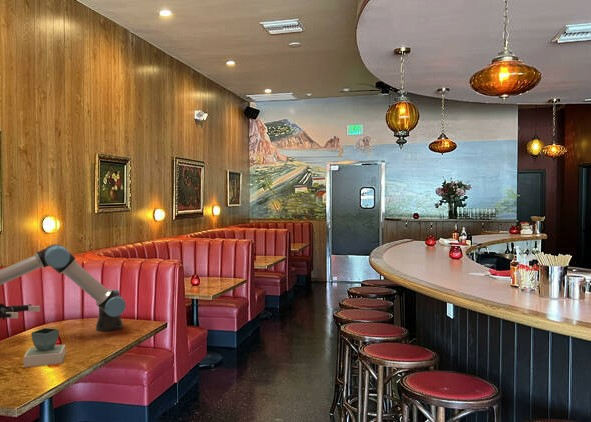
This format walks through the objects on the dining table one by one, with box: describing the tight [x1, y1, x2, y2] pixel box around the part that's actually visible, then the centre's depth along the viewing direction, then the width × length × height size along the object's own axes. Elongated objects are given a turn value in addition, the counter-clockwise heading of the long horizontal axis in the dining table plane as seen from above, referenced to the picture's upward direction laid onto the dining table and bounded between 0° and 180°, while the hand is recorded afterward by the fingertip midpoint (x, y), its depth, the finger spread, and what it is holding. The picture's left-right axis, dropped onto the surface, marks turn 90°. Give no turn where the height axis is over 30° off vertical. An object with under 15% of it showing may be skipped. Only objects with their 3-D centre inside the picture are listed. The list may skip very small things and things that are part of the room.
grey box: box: [23, 344, 66, 368], centre depth 233 cm, size 16×14×6 cm
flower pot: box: [30, 327, 60, 351], centre depth 233 cm, size 9×9×9 cm
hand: (28, 312), depth 238 cm, fingers open, 13 cm apart
